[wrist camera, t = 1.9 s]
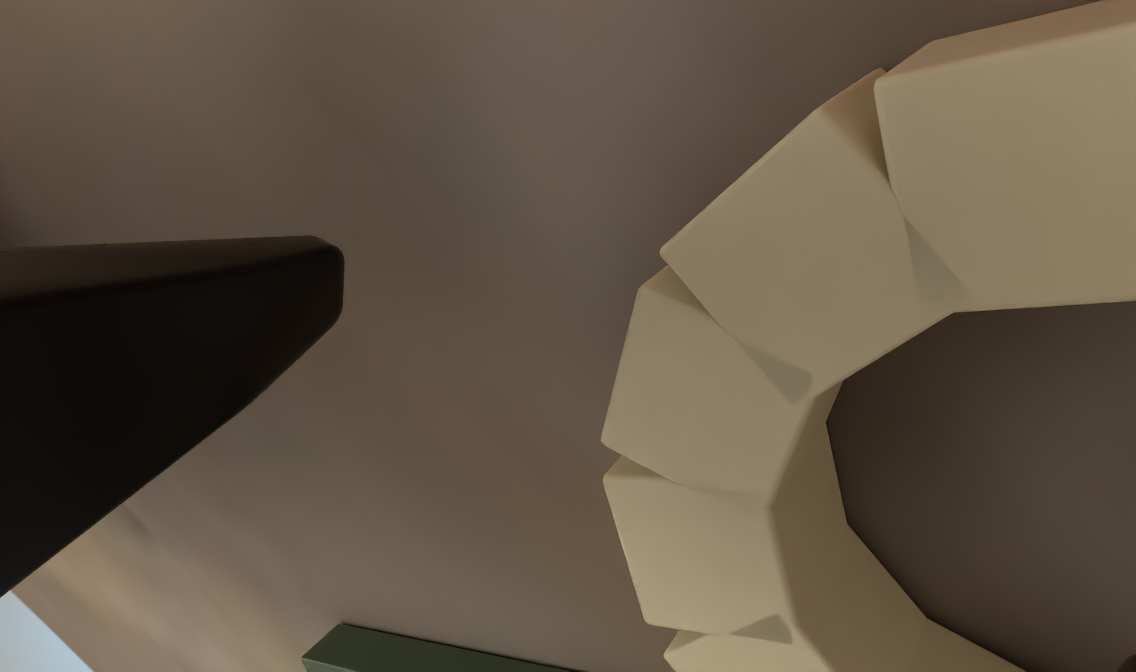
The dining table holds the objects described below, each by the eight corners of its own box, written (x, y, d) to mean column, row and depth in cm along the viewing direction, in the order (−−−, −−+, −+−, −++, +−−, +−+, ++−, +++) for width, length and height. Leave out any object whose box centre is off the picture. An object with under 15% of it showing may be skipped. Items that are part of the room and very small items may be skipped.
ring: (764, 742, 15) (712, 853, 13) (599, 118, 12) (502, 160, 10) (1778, 971, 9) (1924, 1238, 7) (1996, -213, 5) (2361, -249, 4)
